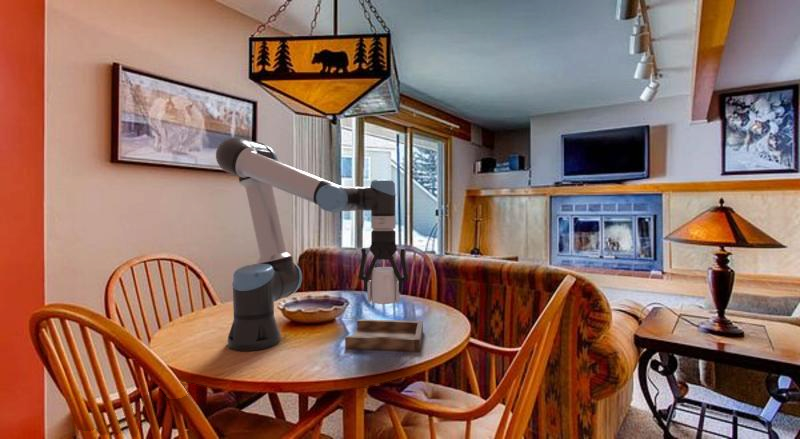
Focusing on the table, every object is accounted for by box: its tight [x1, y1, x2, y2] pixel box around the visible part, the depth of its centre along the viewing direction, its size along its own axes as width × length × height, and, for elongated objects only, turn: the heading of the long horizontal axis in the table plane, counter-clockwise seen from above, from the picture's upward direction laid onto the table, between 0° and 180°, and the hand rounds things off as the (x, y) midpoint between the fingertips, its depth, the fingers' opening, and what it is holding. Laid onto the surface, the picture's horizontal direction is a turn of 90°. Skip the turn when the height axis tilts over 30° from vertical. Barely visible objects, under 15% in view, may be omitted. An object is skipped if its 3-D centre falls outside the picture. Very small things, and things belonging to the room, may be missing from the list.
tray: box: [344, 318, 424, 353], centre depth 126 cm, size 22×18×4 cm
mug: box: [370, 266, 398, 305], centre depth 125 cm, size 12×8×10 cm
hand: (383, 301), depth 125 cm, fingers closed on mug, 8 cm apart
